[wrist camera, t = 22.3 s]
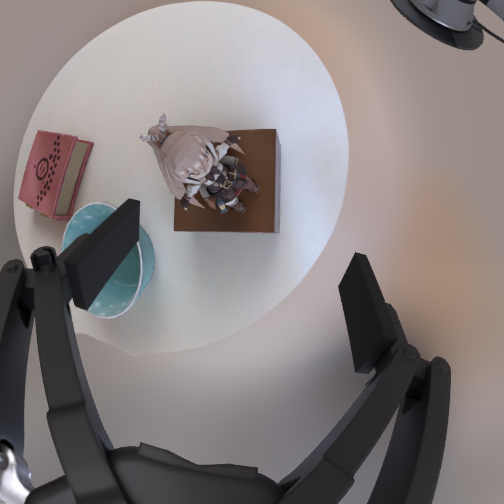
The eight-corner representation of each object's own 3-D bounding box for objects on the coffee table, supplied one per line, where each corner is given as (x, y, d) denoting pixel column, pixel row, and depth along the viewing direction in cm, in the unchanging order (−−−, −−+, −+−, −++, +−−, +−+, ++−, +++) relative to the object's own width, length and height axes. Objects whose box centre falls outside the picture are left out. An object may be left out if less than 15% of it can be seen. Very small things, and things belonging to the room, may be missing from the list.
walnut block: (280, 144, 36) (276, 128, 30) (279, 233, 36) (274, 232, 30) (196, 148, 38) (179, 135, 32) (192, 231, 38) (173, 231, 33)
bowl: (168, 316, 40) (139, 332, 32) (92, 294, 43) (60, 303, 35) (177, 210, 39) (147, 205, 31) (98, 204, 41) (64, 199, 33)
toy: (234, 241, 30) (130, 204, 17) (189, 200, 34) (93, 156, 20) (285, 175, 29) (213, 92, 16) (233, 142, 32) (154, 71, 19)
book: (34, 204, 45) (17, 202, 40) (54, 135, 43) (37, 129, 38) (69, 223, 43) (50, 222, 38) (93, 143, 41) (75, 136, 36)
